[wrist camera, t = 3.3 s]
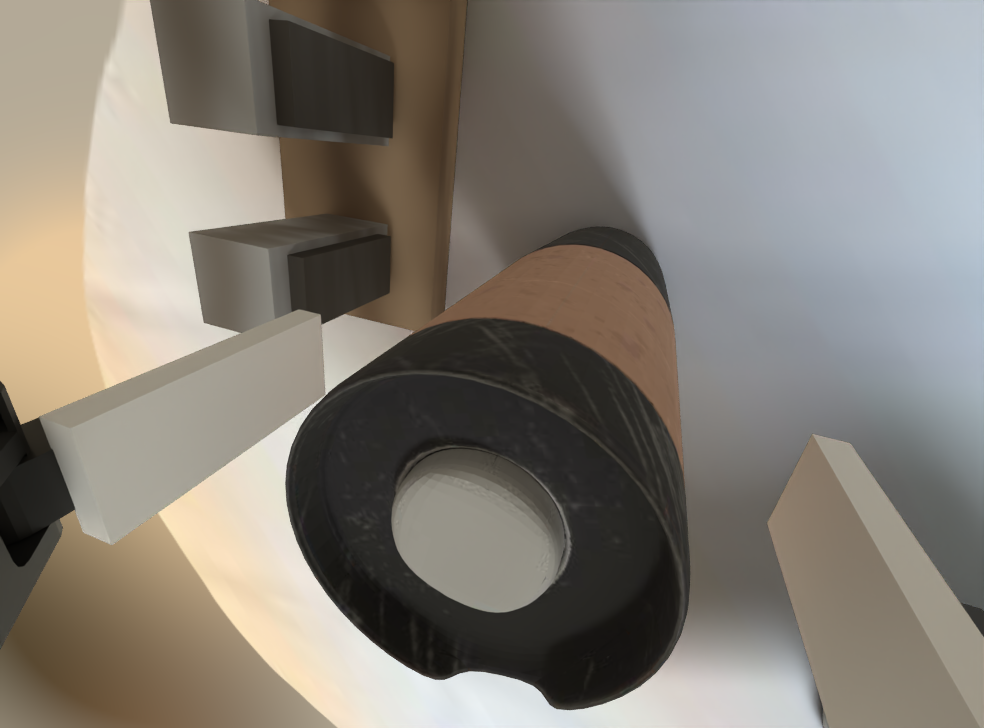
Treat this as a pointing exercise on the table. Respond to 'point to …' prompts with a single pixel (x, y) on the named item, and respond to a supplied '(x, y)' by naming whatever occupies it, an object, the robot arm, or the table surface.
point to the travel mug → (512, 480)
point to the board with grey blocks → (326, 150)
